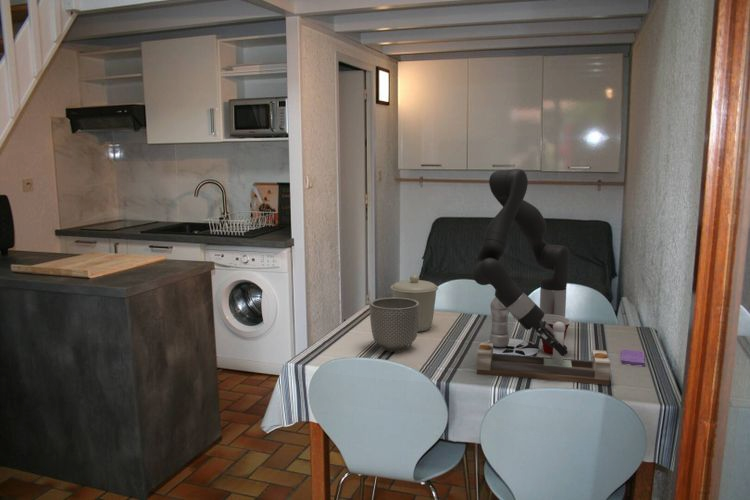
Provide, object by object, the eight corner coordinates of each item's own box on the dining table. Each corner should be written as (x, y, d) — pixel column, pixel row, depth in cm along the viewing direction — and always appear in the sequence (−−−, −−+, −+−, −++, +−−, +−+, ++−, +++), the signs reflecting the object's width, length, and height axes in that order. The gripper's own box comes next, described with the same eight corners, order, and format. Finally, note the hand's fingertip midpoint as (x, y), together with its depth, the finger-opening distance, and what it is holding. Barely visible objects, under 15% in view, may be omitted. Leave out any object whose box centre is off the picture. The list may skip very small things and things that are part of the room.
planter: (382, 338, 225) (382, 295, 222) (427, 344, 217) (427, 300, 215) (361, 351, 209) (360, 305, 207) (407, 358, 202) (408, 311, 199)
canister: (445, 326, 239) (446, 273, 236) (423, 338, 224) (424, 281, 221) (405, 320, 249) (405, 268, 246) (381, 330, 234) (381, 276, 231)
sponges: (620, 365, 196) (621, 359, 196) (620, 353, 208) (621, 348, 207) (644, 368, 194) (645, 362, 193) (643, 356, 205) (643, 350, 205)
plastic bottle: (509, 350, 210) (510, 292, 207) (489, 348, 212) (490, 292, 209) (508, 344, 217) (510, 288, 213) (489, 343, 218) (490, 288, 215)
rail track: (480, 361, 199) (480, 340, 198) (604, 371, 190) (606, 349, 189) (476, 373, 188) (477, 351, 187) (609, 385, 178) (610, 361, 177)
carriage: (543, 363, 191) (545, 318, 189) (570, 366, 189) (572, 320, 187) (543, 370, 185) (545, 323, 183) (571, 373, 183) (573, 325, 181)
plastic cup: (564, 359, 200) (566, 323, 198) (532, 354, 206) (533, 319, 204) (573, 350, 209) (575, 316, 208) (542, 345, 215) (543, 312, 213)
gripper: (534, 308, 179) (576, 351, 178) (534, 297, 193) (573, 337, 192) (515, 324, 181) (556, 367, 180) (516, 313, 195) (555, 353, 194)
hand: (565, 352), depth 186 cm, fingers closed on carriage, 3 cm apart
